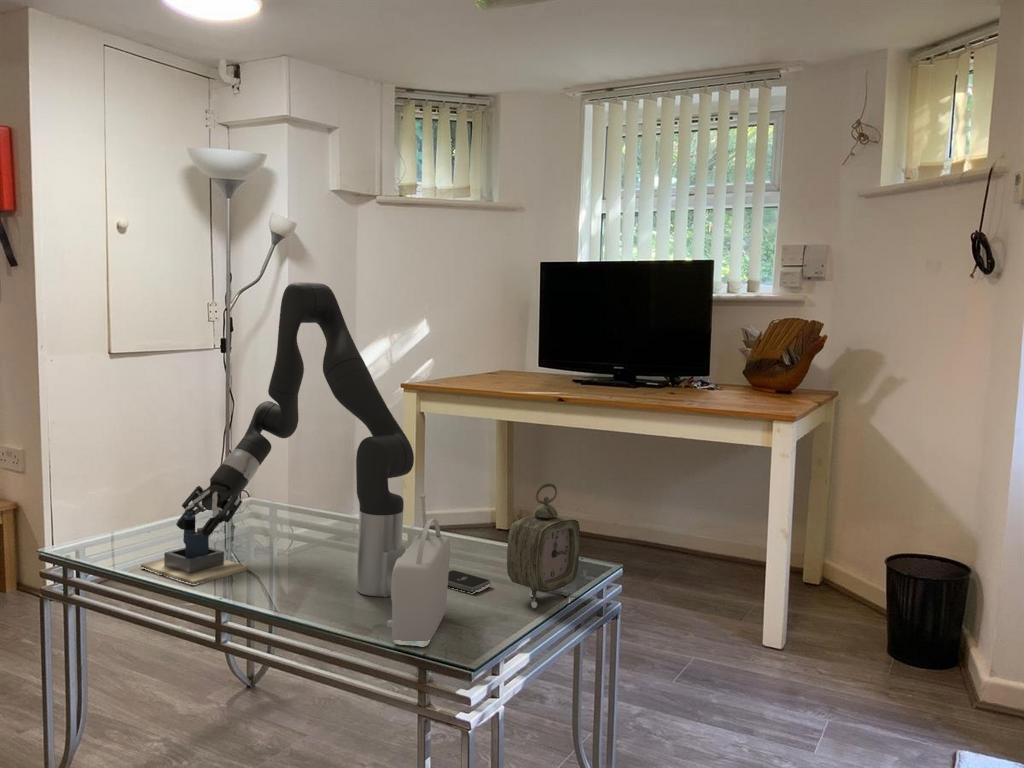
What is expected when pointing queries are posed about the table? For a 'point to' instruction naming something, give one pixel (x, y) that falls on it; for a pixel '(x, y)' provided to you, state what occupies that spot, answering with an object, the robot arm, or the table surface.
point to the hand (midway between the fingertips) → (191, 530)
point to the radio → (420, 585)
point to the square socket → (193, 560)
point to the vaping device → (194, 538)
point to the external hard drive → (466, 581)
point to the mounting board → (196, 577)
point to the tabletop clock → (543, 548)
